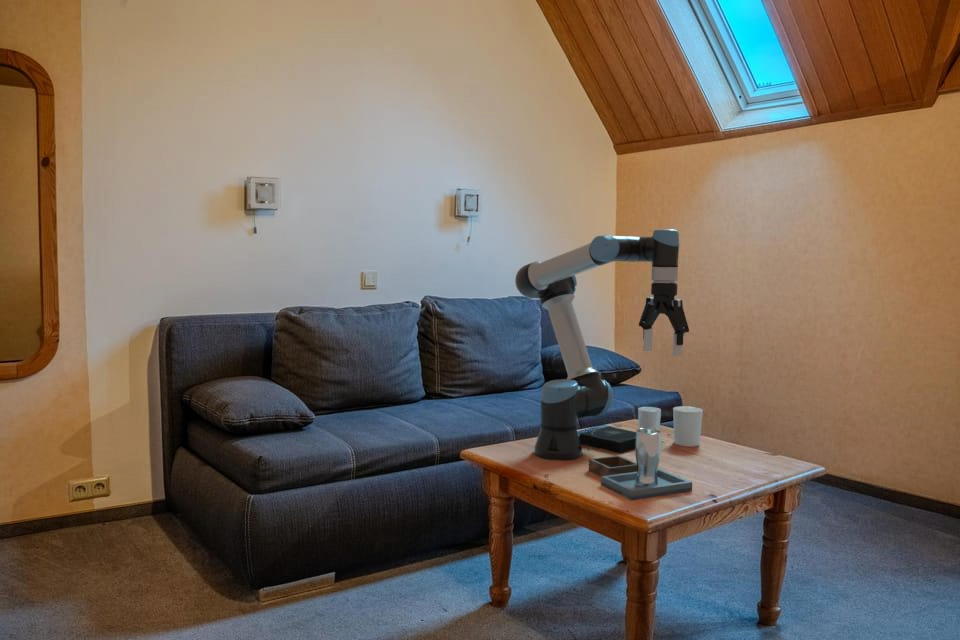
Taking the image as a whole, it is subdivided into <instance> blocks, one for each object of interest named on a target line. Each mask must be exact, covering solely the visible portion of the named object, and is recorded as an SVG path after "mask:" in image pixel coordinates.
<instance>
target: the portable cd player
mask: <svg viewBox="0 0 960 640" xmlns="http://www.w3.org/2000/svg"><path fill="white" fill-rule="evenodd" d="M578 436H579V440H580V443H581V446H582V445H583V446H587V447H591V448H596V449H600V450H603V451H608V452H613V453H615V454H623V453H625V452H629V451H633V450H635V440H636V431H632V430H628V429H624V428H618V427H613V426H605V427H600V428H597V429H596V428H595V429H593V430H588V431H584V432H581V433H579V434H578Z"/></svg>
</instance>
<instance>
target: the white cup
mask: <svg viewBox="0 0 960 640" xmlns="http://www.w3.org/2000/svg"><path fill="white" fill-rule="evenodd" d="M661 416H662V409H661V408H658V407H653V406H642V407H641V406H640V407H638V408H637V420H638V421H637V422H638V424H637V425H638V426H637V427H638V429H641V428H650V429H656V430H659V431H660V426H661V425H660V424H661Z"/></svg>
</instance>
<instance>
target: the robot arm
mask: <svg viewBox="0 0 960 640" xmlns="http://www.w3.org/2000/svg"><path fill="white" fill-rule="evenodd" d="M652 232H653V233H652V236H627V235H624V236H623V235H610V234H602V235H597V236H595V237H594V238H593V239H592V240H591V242H590V243H587V244H585V245H582V246H580V247H577V248H575V249H572V250H570V251H567V252H564V253H561V254H559V255H557V256H553V257H552V258H549V259H547V260H544V261H539V260H538V261H537V260H536V261H535V260H534V261H533V262H530V263H527V264H524V265H523V266H522V267H520V268H519V269H518V271H517V273H516V275H515V286H516V290H518V292H519V293H520V294H521V295H522V296H524V297H526V298H528V299H539V300H540V305H541V307H542V308H543V309H545V310H547V312H548V315H549V319H550V320H551V325H552V328H553V331H554V334H555V338H556V340H557V344H558V346H559V347H558V348H559V351H560V354H561V357H562V360H563V363H564V367H565V370H566V372H567V373H566V374H567V378H561V379H553V380H549V381H547V382H545V383H544V384H542V387H541V395H540V430H539V432H538V435H537V438H536V442H535V445H534V454H535V455H536V456H537V457H539V458H543V459H548V460H559V461H561V460H562V461H568V460H569V461H570V460H574V459H578V458H581V457H582V456H583V448H582V447H583V446H582V444H581V443H580V440H579V433H578V420H579V419H580V420H581V419H585V418H590V417H597V416H600V415H603V414H606V413H607V412H608V411H609V409H610V408H611V406H612V404H613V400H614V394H613V388H612V386H611V384H610V383H609V382H607V380H605V379H602V378H601V375H600V371H598V370H597V369H594V367H593V364H592V362H591V358H590V356H589V352H588V348H587V346H586V343H585V339H584V337H583V333H582V329H581V327H580V324H579V321H578V317H577V315H576V310H575V309H574V306H573V305H574V304H573V301H574V299H575V292H576V290H577V287H576V286H578V285H577V282H578V281H577V277H576V275H578V274H582V273H584V272H587V271H589V270H592V269H596V268H598V267H601V266H603V265H607V264H610V263H612V262H630V263H631V262H632V263H635V262H638V263H640V262H641V263H642V262H643V263H644V262H650V263H651V276H650V277H651V278H650V279H651V281H653V282H652V283H651V285H650V286H651V287H650V288H651V289H650V291H651V292H650V295H652V297H651V296H650V297H649V296H647V297H646V299H645V305H644V307H643V310H642V314H641V317H640V320H639V322H638V327H641V328H642V332H643V334H642V338H643V350H642V351H644V352H649V351H651V352H652V351H653V335H654V334H653V331H654V330H653V326H654V324H655V322H656V320H657V319H658V317H659V316H660V315H661V314H663V315H665V316H666V317H667V318H668V321H669V322H670V325H671V328H672V329H673V330H674V332H673V334H672V335H673V336H672V338H673V339H672V357H683V356H682V355H683V354H682V353H683V344H684V335H685V334H686V333H689V332H690V329H689V325H688V321H687V318H686V314H685V313H686V312H685V311H684V306H683V305H684V304H683V300H682V299H675V296H677V295H678V285H679V284H678V283H677V281H678V279H679V275H678V274H679V272H678V271H679V252H680V251H679V250H680V235H679V234H680V233H679V231H678V230H676V229H654V230H653V231H652Z"/></svg>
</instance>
